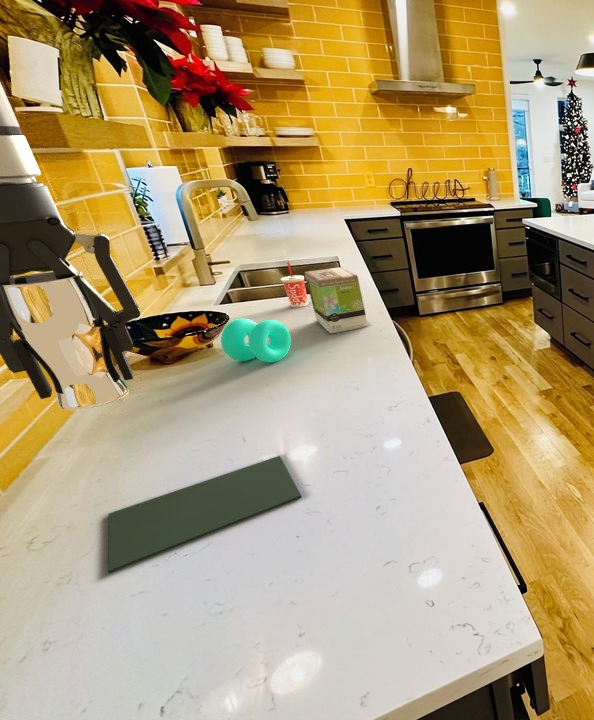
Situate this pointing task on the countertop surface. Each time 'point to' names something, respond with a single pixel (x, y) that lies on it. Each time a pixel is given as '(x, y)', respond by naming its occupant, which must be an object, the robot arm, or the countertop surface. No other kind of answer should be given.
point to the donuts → (256, 340)
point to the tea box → (336, 299)
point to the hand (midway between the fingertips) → (89, 384)
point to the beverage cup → (295, 289)
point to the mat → (196, 511)
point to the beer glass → (64, 337)
